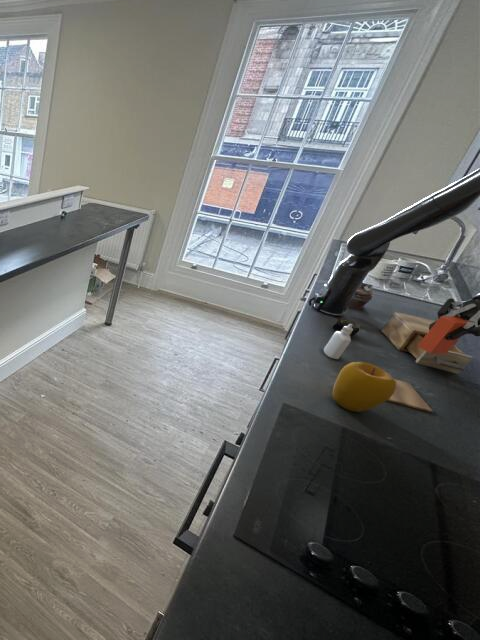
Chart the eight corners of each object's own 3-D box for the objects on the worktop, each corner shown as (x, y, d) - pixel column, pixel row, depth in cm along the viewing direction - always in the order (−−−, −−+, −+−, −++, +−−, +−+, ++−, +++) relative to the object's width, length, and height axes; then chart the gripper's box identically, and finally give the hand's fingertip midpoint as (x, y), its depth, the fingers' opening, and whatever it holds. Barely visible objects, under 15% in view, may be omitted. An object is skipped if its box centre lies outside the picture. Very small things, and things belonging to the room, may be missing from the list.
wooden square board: (378, 398, 115) (379, 396, 114) (360, 371, 126) (361, 370, 125) (431, 412, 111) (433, 411, 110) (407, 384, 122) (409, 382, 122)
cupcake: (336, 297, 177) (349, 276, 172) (364, 305, 172) (378, 284, 167) (335, 303, 171) (349, 282, 165) (364, 312, 165) (379, 290, 160)
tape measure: (329, 330, 149) (334, 321, 147) (335, 325, 152) (341, 317, 150) (351, 339, 144) (357, 330, 142) (357, 334, 148) (363, 325, 146)
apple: (383, 417, 107) (414, 380, 101) (352, 421, 105) (383, 383, 98) (343, 390, 116) (369, 354, 110) (314, 393, 114) (339, 356, 107)
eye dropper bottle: (339, 354, 134) (360, 324, 128) (337, 361, 130) (359, 330, 124) (323, 348, 136) (343, 318, 130) (321, 354, 133) (341, 324, 127)
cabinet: (441, 360, 137) (458, 340, 132) (398, 349, 140) (414, 330, 136) (420, 339, 148) (435, 320, 144) (381, 330, 152) (394, 311, 148)
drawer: (466, 380, 125) (481, 364, 121) (423, 370, 128) (436, 354, 125) (436, 352, 139) (448, 337, 136) (398, 343, 142) (409, 328, 139)
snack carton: (416, 346, 114) (441, 316, 109) (432, 346, 115) (457, 316, 109) (430, 353, 111) (455, 322, 106) (446, 353, 112) (472, 323, 106)
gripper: (475, 275, 109) (409, 312, 114) (544, 299, 97) (467, 340, 102) (477, 292, 113) (413, 328, 117) (544, 318, 101) (469, 357, 105)
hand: (438, 333), depth 110 cm, fingers closed on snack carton, 3 cm apart
